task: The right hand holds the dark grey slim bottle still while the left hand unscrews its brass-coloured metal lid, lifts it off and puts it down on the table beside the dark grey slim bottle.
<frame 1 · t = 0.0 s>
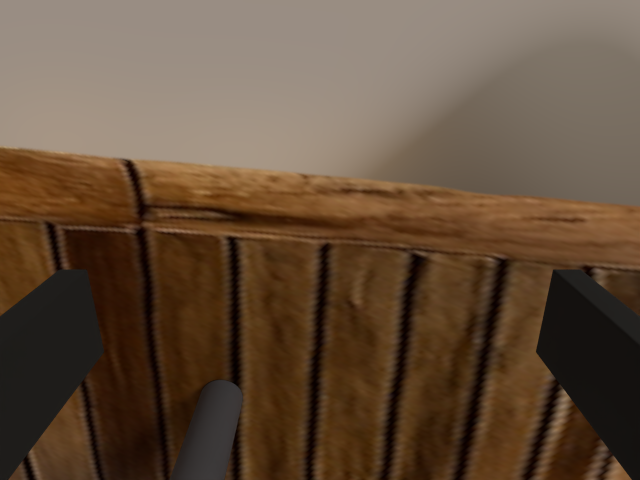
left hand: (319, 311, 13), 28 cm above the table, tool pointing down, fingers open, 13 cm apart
dark grey slim bottle: (222, 396, 49), on the table
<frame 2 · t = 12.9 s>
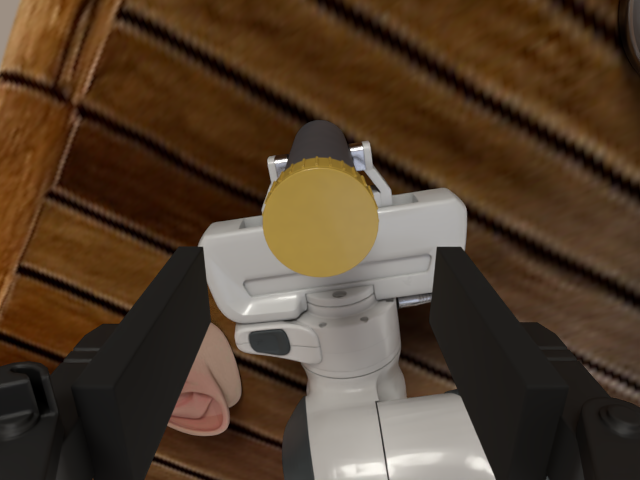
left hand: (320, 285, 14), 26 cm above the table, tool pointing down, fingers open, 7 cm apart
right hand: (317, 149, 32), fingers closed on dark grey slim bottle, 4 cm apart
dark grey slim bottle: (320, 147, 38), on the table, touching right hand
anatomical model: (184, 361, 46), on the table
lid: (320, 222, 20), point 20 cm above the table, screwed on, not yet turned
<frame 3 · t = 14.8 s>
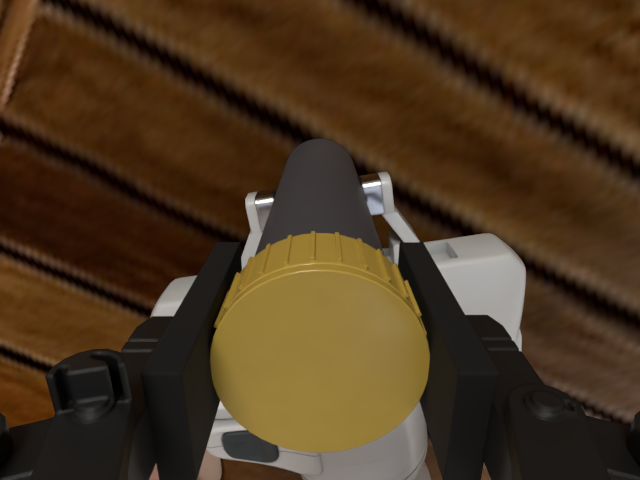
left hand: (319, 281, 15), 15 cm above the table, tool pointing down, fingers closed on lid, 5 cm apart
dark grey slim bottle: (319, 174, 29), on the table, touching right hand
anatomical model: (149, 436, 37), on the table
lid: (319, 360, 11), point 20 cm above the table, screwed on, not yet turned, touching left hand
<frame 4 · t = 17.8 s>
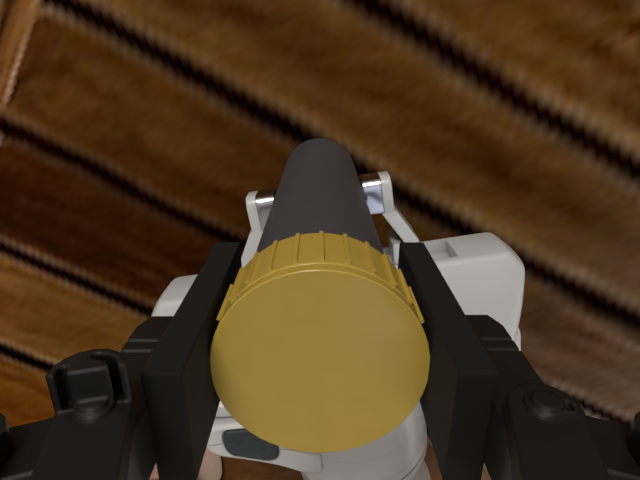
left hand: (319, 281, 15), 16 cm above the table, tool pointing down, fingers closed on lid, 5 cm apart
dark grey slim bottle: (319, 173, 29), on the table, touching right hand
anatomical model: (150, 435, 37), on the table
lid: (319, 360, 11), point 20 cm above the table, turned 89° so far, risen 0.1 cm, still on its thread, touching left hand
when the left hand's fingers open (0 cm above the table, at t = 31.8 s): lid drops 2 cm, point 2 cm above the table.
when the right hand's fingers open (6 cm above the table, at t = 32.5 s): dark grey slim bottle stays where it is, on the table.
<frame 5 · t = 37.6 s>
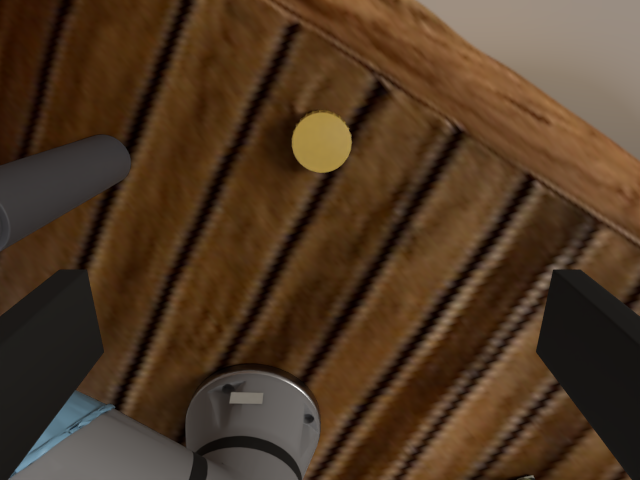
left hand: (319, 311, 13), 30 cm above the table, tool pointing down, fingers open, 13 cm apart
dark grey slim bottle: (106, 159, 42), on the table
lid: (321, 142, 39), point 2 cm above the table, off its thread
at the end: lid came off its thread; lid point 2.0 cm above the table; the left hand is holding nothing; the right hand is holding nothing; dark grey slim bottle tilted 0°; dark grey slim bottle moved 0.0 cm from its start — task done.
